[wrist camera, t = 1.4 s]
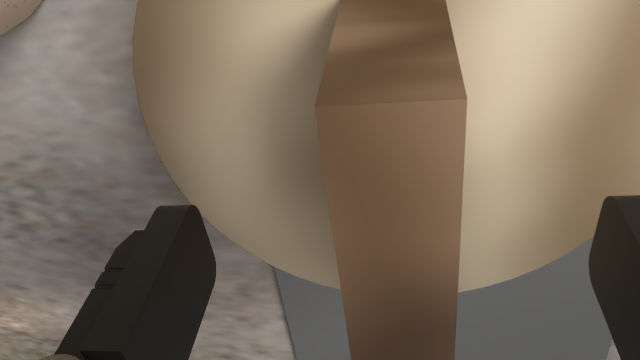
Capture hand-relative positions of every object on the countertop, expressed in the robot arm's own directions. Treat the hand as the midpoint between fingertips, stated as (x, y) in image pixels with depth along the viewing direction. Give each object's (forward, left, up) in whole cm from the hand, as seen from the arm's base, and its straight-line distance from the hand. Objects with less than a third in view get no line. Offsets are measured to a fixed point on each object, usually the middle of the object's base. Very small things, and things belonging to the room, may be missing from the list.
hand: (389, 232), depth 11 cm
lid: (0, 0, -6) cm, 6 cm away
